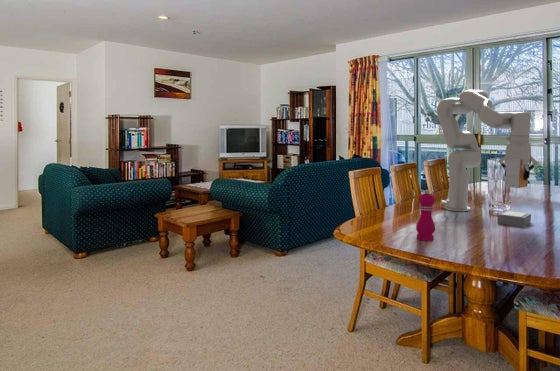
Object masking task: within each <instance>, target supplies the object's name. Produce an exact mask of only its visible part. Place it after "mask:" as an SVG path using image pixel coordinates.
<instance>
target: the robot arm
mask: <svg viewBox="0 0 560 371" xmlns="http://www.w3.org/2000/svg"><path fill="white" fill-rule="evenodd" d="M492 107H493V102H492V100H491V99H489V95H488V93H487V92H486V91H485V90H480V89H467V90H464V91H462V92H461V93H460V94H459V97H447V98H444V99H442V100H441V101H439V103H438V105H437V107H436V114H437V115H436V116H437V120H438V122H439V123H440V126H441V128H442V132H443V137H444V139H445V143H446V146H447V148H449V149H450V150H453V151H451V153H449V155H448V158H447V162H448V163H447V164H448V167H449V168H448V171H449V172H448V173H449V176H448V177H449V178H448V199H447V200H443V199H441V201H440V203H441V205H445V206H444V209H445V210H448V211H450V212H451V211H452V212H469V211H471V207H470V206H468V202H469V201H468V200H469V199H468V197H469V182H470V181H469V180H470V179H469V178H470V176H469V175H470V174H469V172H468V170H467V169H471V168H477V167H478V166H480V164H481V163H482V154H481V150H480V148H479V144H478V140H477V138H476V135H475V134H474V133H472V132H471V131H467V130H466V131H465V130H462V129H461V128H460V125H459V122H458V120H457V118H455V117H454V115H466V114H470V113H472V112H473V113H474V114H477V117H478V119H479V121H480V122H481V123H483V124H485V125H486V126H488V127H489V128H493V129H510V131H509V132H510V135H509V136H507V137H506V140H507V141H509V142H507V144H506V148H505V154H504V156H503V157H501V158H500V159H498V163H499V164H500V165H501V167H502V168H503V170H504V177H506V165H507V159H523V163H522V165H524V166H525V168H526V171H525V177H524V180H528V181H529V178H530V174H531V170H533V169H534V168H536V166H538V164H539V161H537V159H535V158H534V157H532V146H531V143H530V142H529V141H530V132H531V129H530V128H531V119H532V117H531V113H530V112H528V111H515V112H513V111H496V110H494V109H492ZM454 150H455V151H454ZM531 163H532V164H531Z"/></svg>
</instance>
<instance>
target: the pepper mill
mask: <svg viewBox="0 0 560 371" xmlns="http://www.w3.org/2000/svg"><path fill="white" fill-rule="evenodd" d="M435 201H436V199H435V197H434V195H433V194H431V193H430V190H429V189H425V190H424V193H422V194H421V195H420V196H419V198H418V203H419V209H420V217H419V219H418V221H417V223H416V226H415V230H416V232H417V235H416V239H417V240H419V241H422V242H432V241H434V233H435V232H436V226H435V222H434V220H433V215H432V214H433V213H432V212H433V210H434V206H433V205H434V204H435Z"/></svg>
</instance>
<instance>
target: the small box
mask: <svg viewBox="0 0 560 371" xmlns="http://www.w3.org/2000/svg"><path fill="white" fill-rule="evenodd" d="M522 163H523V159H507V164H505V165H506V176H505V182H504V187H505V188H511V189H512V188H514V189H521V188H528V182H529V179H528V180H524V177H525V171H526V168H525V166H524V165H522Z"/></svg>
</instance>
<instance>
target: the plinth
mask: <svg viewBox="0 0 560 371" xmlns="http://www.w3.org/2000/svg"><path fill="white" fill-rule="evenodd" d="M531 219H532V213H526V212H518V211H513V210H512V211H509V210H505V211H503V212H500V213H498V214H497V221H496V223H497V224H501V225H503V224H504V225H510V226H516V227H523V228H524V227H526V226H527V225H529V224H530V223H531Z"/></svg>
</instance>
